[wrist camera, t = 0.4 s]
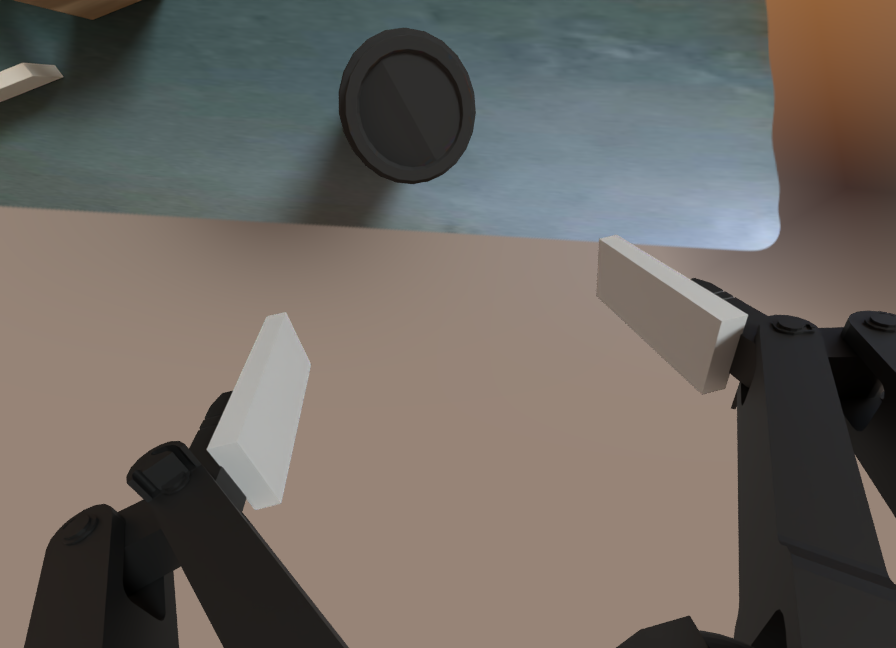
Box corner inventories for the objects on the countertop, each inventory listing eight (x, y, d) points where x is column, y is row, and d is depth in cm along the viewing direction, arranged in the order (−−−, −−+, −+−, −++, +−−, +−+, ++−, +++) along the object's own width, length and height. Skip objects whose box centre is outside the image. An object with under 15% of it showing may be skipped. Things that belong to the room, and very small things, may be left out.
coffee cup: (385, 172, 37) (391, 215, 25) (328, 84, 33) (302, 82, 20) (458, 123, 36) (505, 142, 23) (410, 25, 32) (436, -16, 19)
